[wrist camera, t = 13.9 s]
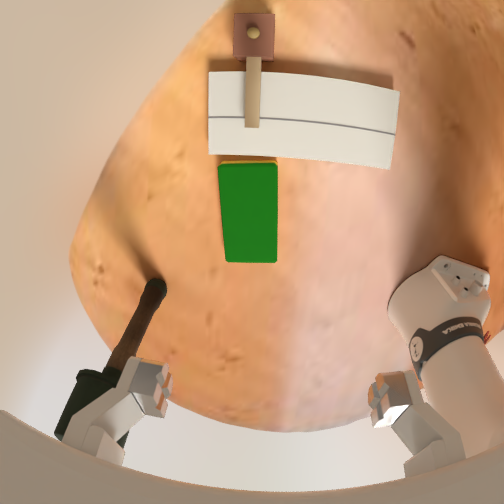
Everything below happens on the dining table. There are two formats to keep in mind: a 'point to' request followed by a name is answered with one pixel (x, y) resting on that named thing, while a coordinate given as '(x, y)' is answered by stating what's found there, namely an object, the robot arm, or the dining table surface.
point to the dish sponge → (249, 210)
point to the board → (304, 119)
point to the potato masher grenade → (113, 359)
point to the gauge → (253, 56)
